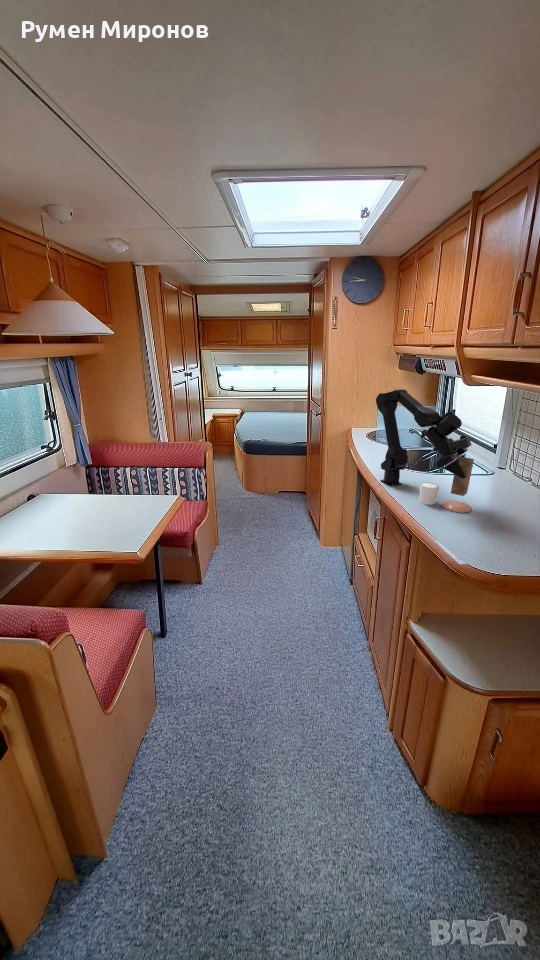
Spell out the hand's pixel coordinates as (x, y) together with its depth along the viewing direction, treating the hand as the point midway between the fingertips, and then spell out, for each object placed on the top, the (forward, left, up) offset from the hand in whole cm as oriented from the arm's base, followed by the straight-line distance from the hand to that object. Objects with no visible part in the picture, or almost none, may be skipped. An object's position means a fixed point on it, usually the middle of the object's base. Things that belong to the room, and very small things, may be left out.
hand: (466, 476), depth 143 cm
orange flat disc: (-1, -1, -12) cm, 13 cm away
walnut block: (-1, -1, -7) cm, 7 cm away
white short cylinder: (-9, -8, -13) cm, 17 cm away
